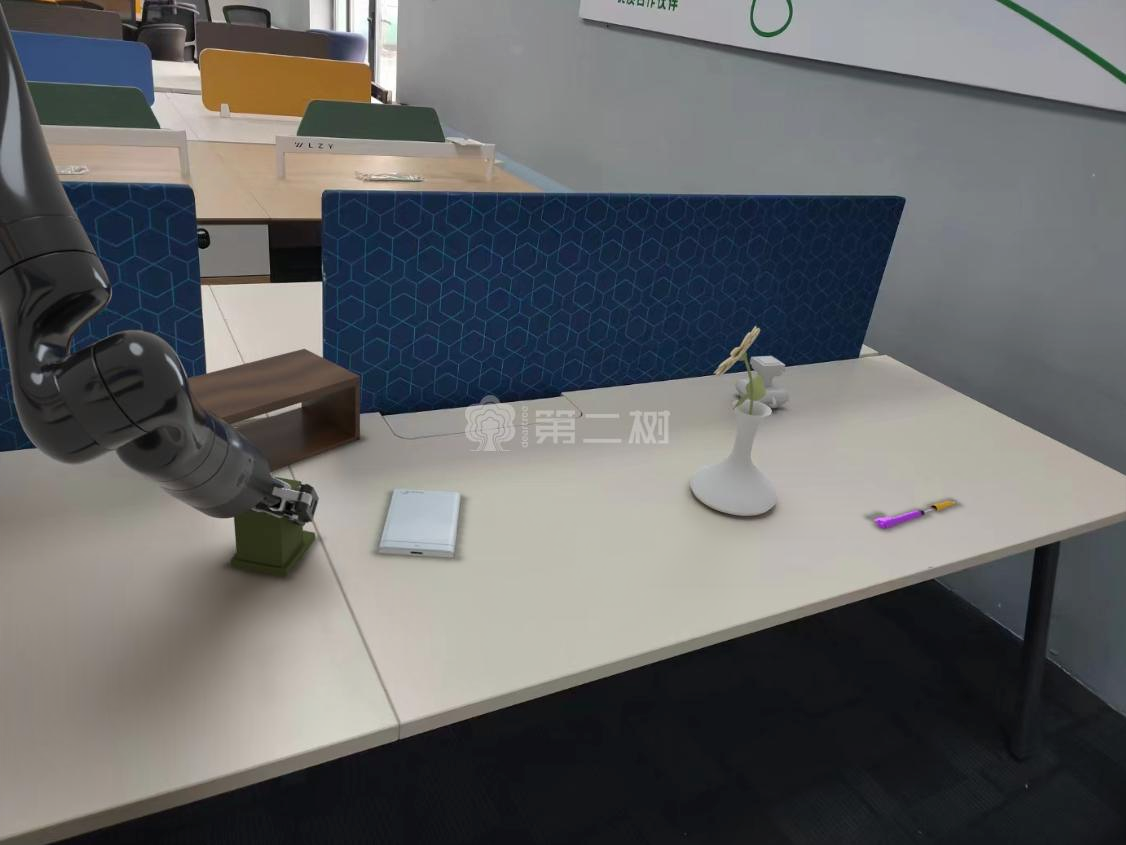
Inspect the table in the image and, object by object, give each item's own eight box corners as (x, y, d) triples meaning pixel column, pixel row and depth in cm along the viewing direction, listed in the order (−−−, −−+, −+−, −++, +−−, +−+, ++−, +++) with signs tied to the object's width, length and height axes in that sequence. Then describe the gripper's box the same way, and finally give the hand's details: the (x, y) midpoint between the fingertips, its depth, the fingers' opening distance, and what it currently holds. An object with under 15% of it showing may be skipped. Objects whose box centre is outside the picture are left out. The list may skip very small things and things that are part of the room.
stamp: (789, 416, 139) (801, 369, 136) (755, 418, 137) (766, 371, 133) (761, 394, 147) (771, 349, 143) (728, 395, 144) (737, 349, 141)
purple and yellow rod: (883, 531, 108) (956, 507, 117) (883, 523, 108) (957, 499, 117) (865, 525, 111) (939, 502, 119) (866, 517, 110) (939, 494, 119)
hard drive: (393, 487, 103) (378, 545, 91) (461, 492, 103) (454, 550, 92) (393, 499, 103) (378, 558, 92) (460, 503, 104) (453, 562, 93)
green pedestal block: (286, 581, 87) (283, 507, 83) (231, 571, 87) (225, 497, 83) (315, 543, 93) (313, 473, 89) (264, 534, 94) (260, 463, 90)
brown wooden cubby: (172, 455, 107) (165, 383, 102) (306, 413, 121) (304, 348, 117) (226, 493, 100) (220, 418, 96) (360, 443, 115) (360, 376, 111)
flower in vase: (720, 471, 119) (757, 302, 108) (790, 506, 112) (836, 330, 101) (662, 498, 111) (696, 318, 100) (733, 538, 104) (778, 350, 93)
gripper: (300, 438, 74) (352, 489, 90) (146, 412, 75) (224, 466, 91) (275, 521, 71) (332, 558, 87) (116, 492, 72) (202, 534, 88)
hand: (277, 511), depth 89 cm, fingers open, 5 cm apart
